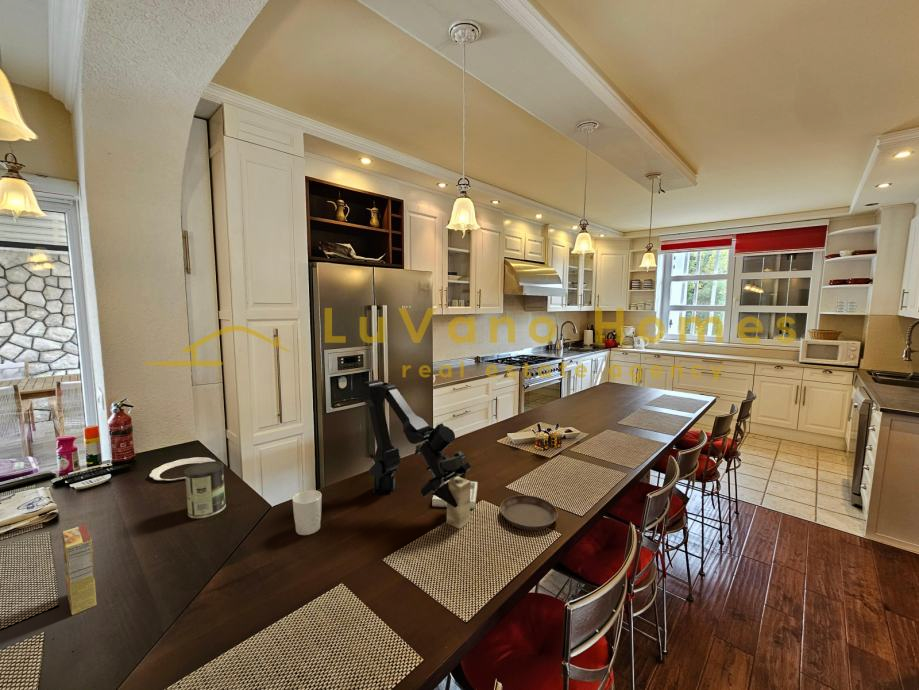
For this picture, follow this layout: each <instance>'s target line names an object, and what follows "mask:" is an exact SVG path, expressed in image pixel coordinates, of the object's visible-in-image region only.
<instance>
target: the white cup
mask: <svg viewBox="0 0 919 690" xmlns="http://www.w3.org/2000/svg"><path fill="white" fill-rule="evenodd" d="M292 508H293V510H292V511H293V518H294V523H295V524H294V525H295V532H296V533H297V535H300V536H309V535H311V534H312V535H313V534H315V533H316V532H318V531H319V530H320V529H321V520H322V493H321V491H319V490H315V489H307V490H304V491H300V492H297V493H296V494H294V495H293V497H292Z"/></svg>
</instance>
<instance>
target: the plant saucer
mask: <svg viewBox="0 0 919 690" xmlns="http://www.w3.org/2000/svg"><path fill="white" fill-rule="evenodd" d="M499 507H500V508H499V510H500V514H502V516H503V518H504V519H505V520H506V521H507V523H509V524H510V525H512V526H514V527H515V528H517V529H520V530H524V531H529V532H531V531H532V532H535V531H541V530H545V529H546V528H547V529H548V527H550V526H551V525H552V524H553V523H555V522H556V520H557V518H558V515H559V513H558V510H557V508H556V506H554V504H553V503H551V502H550V501H549V500H547V499H544V498H541V497H538V496H534V495H528V494H527V495H526V494H524V495H523V494H521V495H513V496H509V497H508V498H505V499H504V500H503V501H502V502H501V504H500V506H499Z"/></svg>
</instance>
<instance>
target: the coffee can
mask: <svg viewBox="0 0 919 690" xmlns="http://www.w3.org/2000/svg"><path fill="white" fill-rule="evenodd" d="M224 473H225V472H224V463H223V462H221V461H216V460H215V461H211V462H204V463H195V464H194V465H191V466H189V467H188V468H186V469H185V470H184V475H185V476H184V477H185V487H186V503H187V516H188V517H189V518H191V519H204V518H205V519H206V518H209V517H211V516H214V515H218V514H219V513H220V512H222V511H224V510H225V508H226V507H227V504H226V493H225V492H226V491H225V478H224V477H225V475H224Z"/></svg>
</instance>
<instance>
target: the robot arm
mask: <svg viewBox="0 0 919 690" xmlns="http://www.w3.org/2000/svg"><path fill="white" fill-rule="evenodd" d="M359 392H360V395H361V398H362V401H363V402H364V404H366V406H367V407H368V410H369V413H370V419H371V423H372V428H373V429H372V430H373V433H374V439H375V444H376V449H375V453H374V456H373V457H374V464H373V465H372V466H371V467H370V468H369V475H370V476H371V477H373V478H374V479H373V483H374V484H373V486H374V489H373V490H372V493H373V494H381V495H390V494H392V492H393V490H394V489H395V488H396V475H394V473H395V472H397V471H398V468H399V467H400V464H401V459H402V458H401V455H400V450H399V448H398V447H396V448H395V446H394V445H393V444H392V442H391V441H392V440H391V436H390V432H389V427H388V422H387V417H386V411H385V408H384V401H385V400H386V402H387V403H388V404H389V406H390V407H391V409H392V411H393V412H394V413H395V415H396V416H397V418H398V419H399V421H400V422H401V424H402V427H403V433H404V435H405V437H406V440H407V441H408V442H409V443H410V444H411V445H412V444H413V445H415V451H414V454H415V455H416V456H417V455H419V454H420V455H421V457H422V458H423V460H424V462H425V463H426V465H427V467H426V470H427V472H429V471H431V473H432V476H433V478H431V479H429V480H428V481H427V482H425V483H424V484H423V485H422V486H421V487H420V493H421V495H422V497H423V498H425V497H428V496H429V495H432V497H433V496H434V495H435V496H437V497H439V498H440V499H442V500H444V501H445V502H447V503H448V504H450V505H451V506H453V507H454V508H456V507H457V506H458V505H457V503H456V501H455V499H454V497H453V496H452V494H451V492H450V490H449V486H448V482H447V481H448V480H452V479H454V478H455V477H457V476H458V477H461V478H464V479H466V475H467V472H468V471H470V469H472V465H470V463H469V462H467V461H466V456H465V455H464V453H463V451H461V450H460V451H459V450H458V451H456V452H454V454H453V456H451V457H449V455H448V454H443V451H445V450H446V449H447V448H448V447H449V446H450V445H451V444H452V443H453V442H454V441H455V439H456V435H455V432H454V430H453V429H451V427H449V426H446V425H444V424H443V422H441V423H439V424H436V426H435V428H434V427H432V426H430V425H429V424H428V422H427V421H425V420H424V419H423V418H422V417H420V416H418V415H417V414H415V412H414V411H413V410H412V408H411V407H410V405H409V404H408V403H407V402H406V400H405V398H404V397H403V396H402V395H401V393H400V391H399V390H398V387H397V385H396V384H393V383H389V382H383V381H382V380H380V379H375V380H374V379H373V380H370V381H365V382H362V384H361V385H360V387H359ZM419 443H421V444H419ZM416 444H418V445H416ZM445 482H447V483H446V484H445ZM432 491H433V493H432Z"/></svg>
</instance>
